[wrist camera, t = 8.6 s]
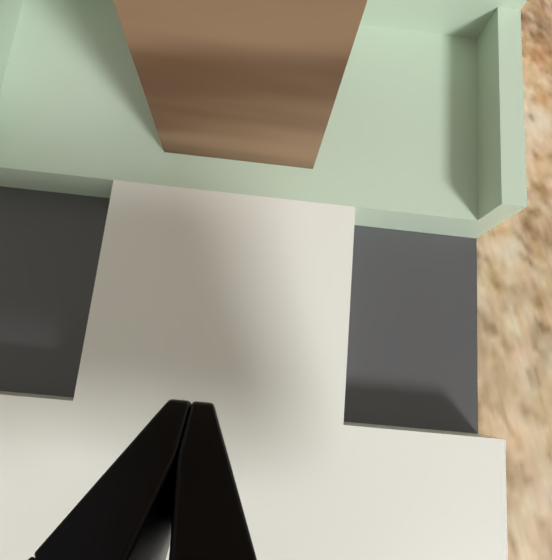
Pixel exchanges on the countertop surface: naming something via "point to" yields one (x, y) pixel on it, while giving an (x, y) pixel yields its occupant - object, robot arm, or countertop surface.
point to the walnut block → (241, 73)
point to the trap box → (261, 284)
